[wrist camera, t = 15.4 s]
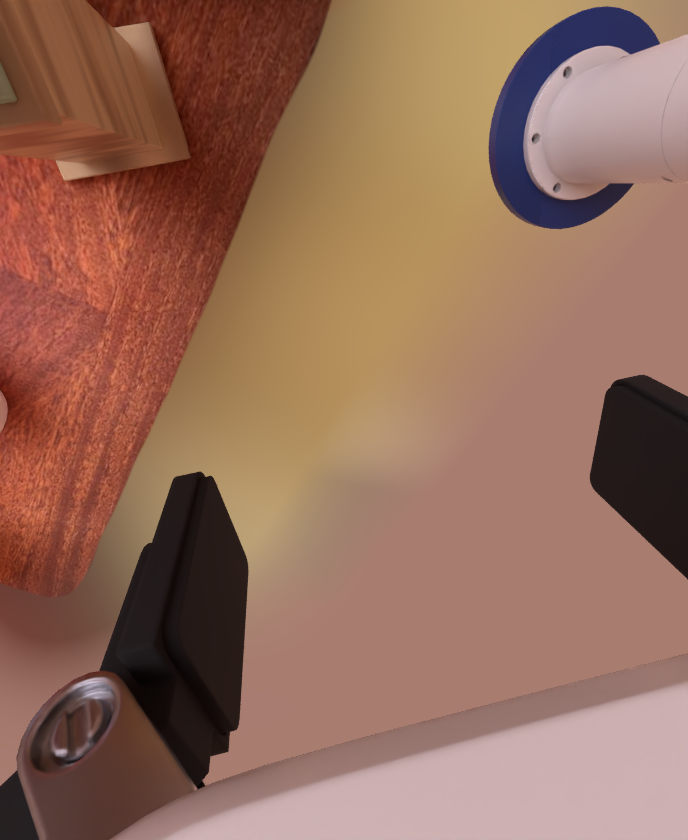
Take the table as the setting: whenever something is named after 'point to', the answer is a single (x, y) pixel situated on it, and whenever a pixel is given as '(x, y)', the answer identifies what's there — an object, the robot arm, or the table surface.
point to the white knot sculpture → (3, 411)
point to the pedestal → (85, 91)
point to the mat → (6, 88)
